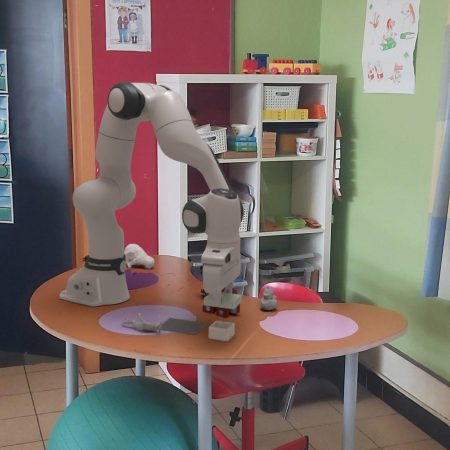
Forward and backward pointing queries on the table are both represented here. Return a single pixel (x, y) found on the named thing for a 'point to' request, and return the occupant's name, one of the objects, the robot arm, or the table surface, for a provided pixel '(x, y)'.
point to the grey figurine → (268, 299)
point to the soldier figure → (143, 325)
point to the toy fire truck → (222, 311)
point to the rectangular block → (224, 300)
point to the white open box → (221, 330)
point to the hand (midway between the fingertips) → (223, 300)
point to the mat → (183, 326)
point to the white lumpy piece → (137, 256)
